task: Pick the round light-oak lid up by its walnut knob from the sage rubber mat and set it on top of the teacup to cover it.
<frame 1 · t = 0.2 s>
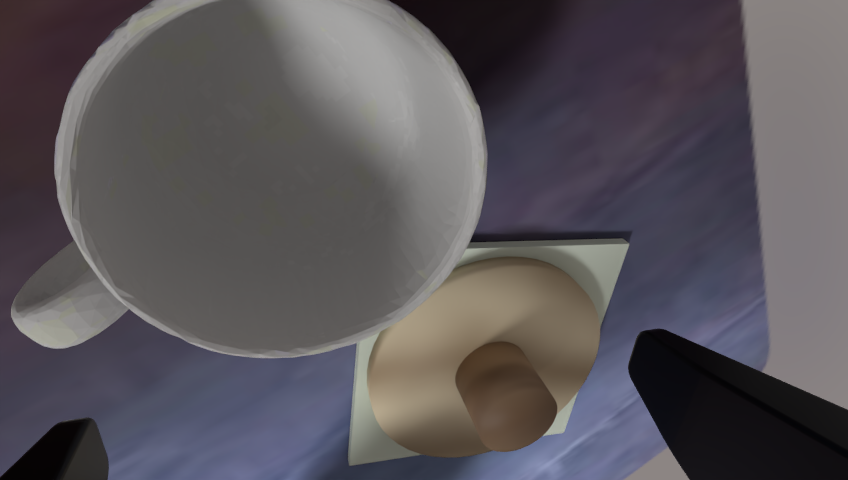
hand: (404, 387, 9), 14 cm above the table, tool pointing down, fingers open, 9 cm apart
sage mat: (479, 352, 29), on the table
oak lid: (483, 358, 28), point 1 cm above the table, touching sage mat
teacup: (244, 131, 20), on the table
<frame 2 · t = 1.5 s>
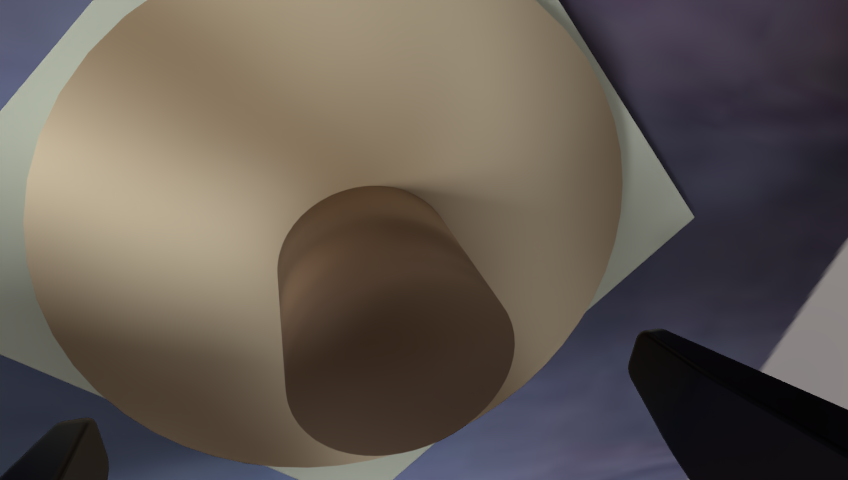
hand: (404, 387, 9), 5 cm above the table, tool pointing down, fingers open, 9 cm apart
sage mat: (357, 235, 13), on the table
oak lid: (361, 246, 13), point 1 cm above the table, touching sage mat
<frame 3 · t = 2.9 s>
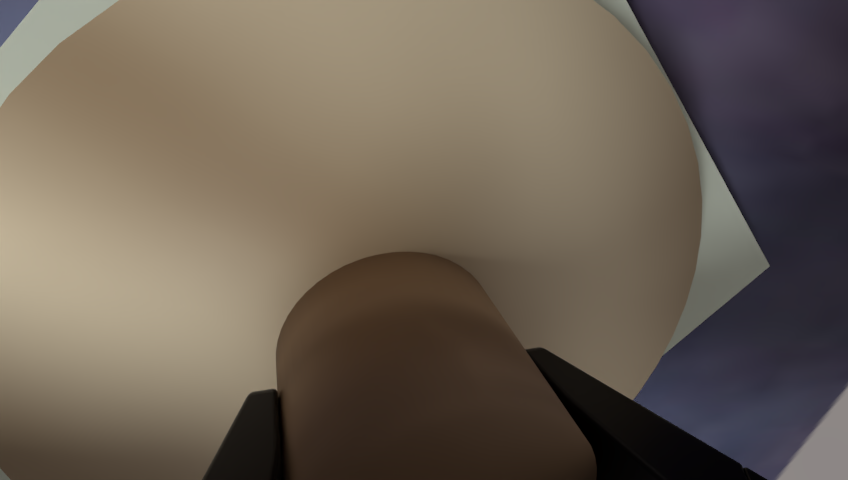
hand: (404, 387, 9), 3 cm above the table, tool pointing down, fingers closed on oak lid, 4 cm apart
sage mat: (373, 298, 11), on the table
oak lid: (379, 315, 10), point 1 cm above the table, touching gripper, sage mat
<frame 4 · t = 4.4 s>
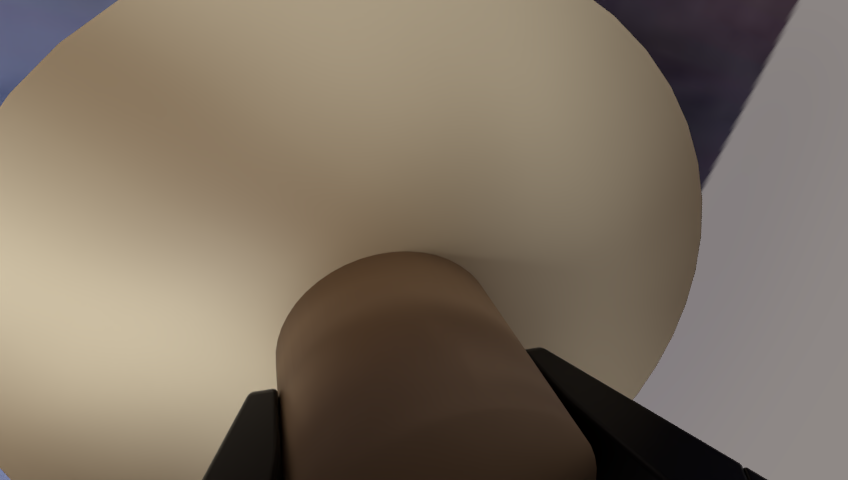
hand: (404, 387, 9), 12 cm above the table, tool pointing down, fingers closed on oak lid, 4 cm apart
oak lid: (378, 315, 10), point 10 cm above the table, touching gripper
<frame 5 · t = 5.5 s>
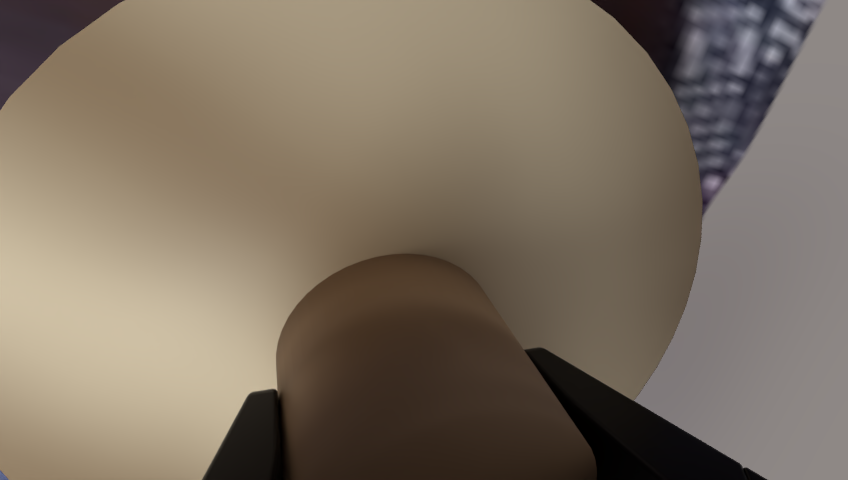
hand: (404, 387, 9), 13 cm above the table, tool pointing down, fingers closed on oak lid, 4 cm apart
oak lid: (379, 317, 10), point 11 cm above the table, touching gripper
when the fingers open (11 cm above the table, at t = 6.3 s): oak lid stays where it is, resting on teacup.
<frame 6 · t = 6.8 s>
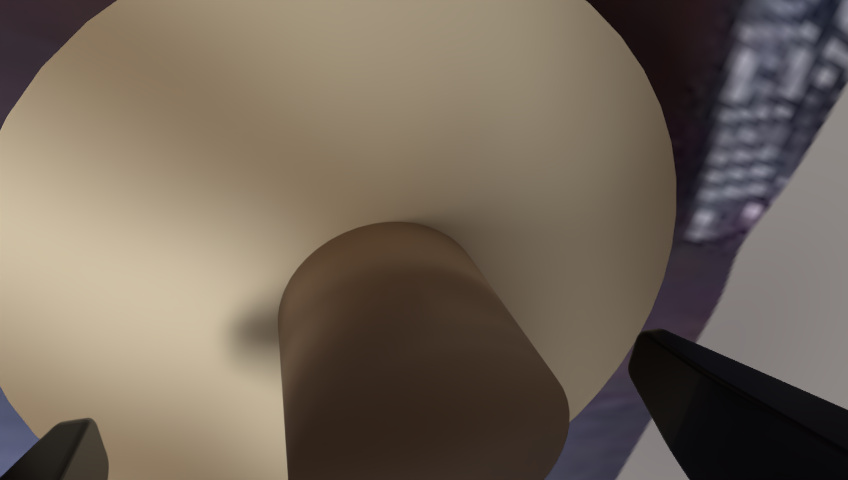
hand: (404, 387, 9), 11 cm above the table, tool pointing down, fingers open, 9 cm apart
oak lid: (374, 286, 11), point 8 cm above the table, touching teacup
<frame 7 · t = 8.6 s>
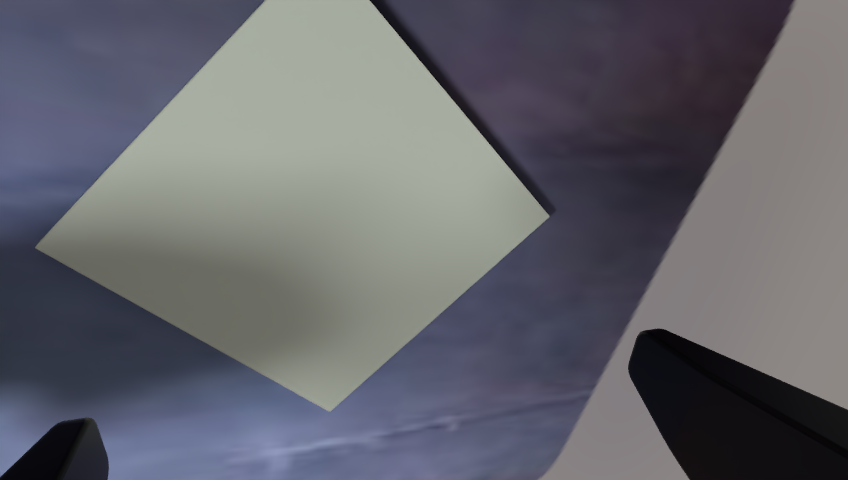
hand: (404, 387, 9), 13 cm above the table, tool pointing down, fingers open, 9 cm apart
sage mat: (324, 223, 21), on the table
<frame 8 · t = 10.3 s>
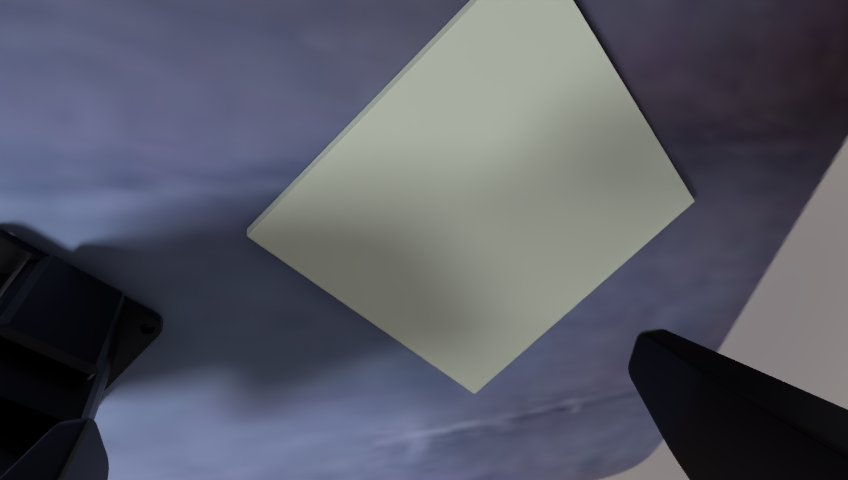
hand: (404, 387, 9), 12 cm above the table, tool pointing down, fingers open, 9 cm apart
sage mat: (493, 210, 22), on the table
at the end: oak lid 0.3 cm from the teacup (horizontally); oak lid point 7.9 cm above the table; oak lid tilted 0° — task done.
